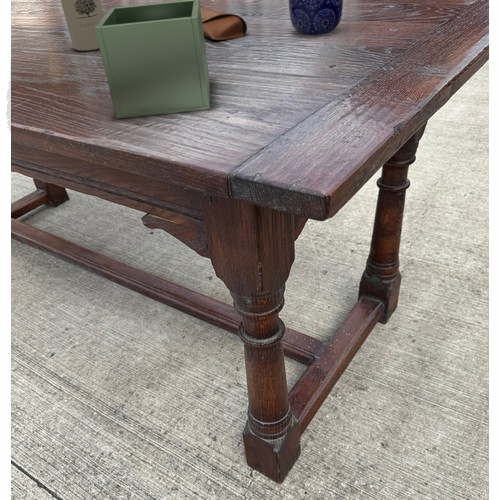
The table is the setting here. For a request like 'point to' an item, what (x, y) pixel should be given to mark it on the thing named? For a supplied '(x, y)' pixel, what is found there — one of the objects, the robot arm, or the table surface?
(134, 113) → the bin
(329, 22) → the planter
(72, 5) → the travel mug
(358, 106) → the table surface
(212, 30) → the sunglasses case
